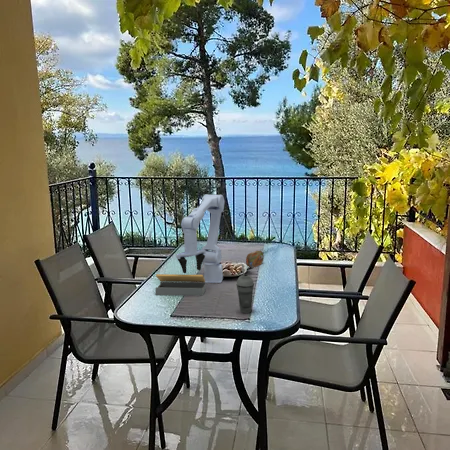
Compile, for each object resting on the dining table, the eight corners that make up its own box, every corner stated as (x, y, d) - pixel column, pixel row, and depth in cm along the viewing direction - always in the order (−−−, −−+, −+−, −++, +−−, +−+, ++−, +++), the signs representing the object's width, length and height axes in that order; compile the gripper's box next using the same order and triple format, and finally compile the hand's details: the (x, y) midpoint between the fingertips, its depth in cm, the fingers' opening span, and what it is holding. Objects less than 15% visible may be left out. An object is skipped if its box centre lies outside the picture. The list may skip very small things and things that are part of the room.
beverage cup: (249, 315, 172) (248, 267, 168) (233, 312, 176) (232, 265, 172) (257, 309, 178) (257, 263, 175) (242, 306, 182) (241, 261, 178)
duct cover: (205, 282, 205) (205, 280, 205) (202, 276, 196) (202, 274, 197) (160, 281, 207) (160, 280, 207) (155, 275, 199) (156, 274, 199)
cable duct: (205, 289, 205) (205, 282, 205) (202, 295, 196) (202, 288, 196) (160, 288, 208) (160, 281, 207) (155, 294, 199) (155, 287, 198)
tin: (249, 269, 237) (249, 254, 235) (245, 268, 238) (244, 254, 237) (264, 263, 248) (264, 249, 247) (259, 262, 250) (259, 248, 249)
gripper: (199, 239, 204) (200, 266, 206) (172, 243, 196) (173, 272, 198) (207, 241, 198) (208, 269, 201) (180, 246, 190) (181, 275, 193)
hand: (191, 271), depth 199 cm, fingers open, 7 cm apart
